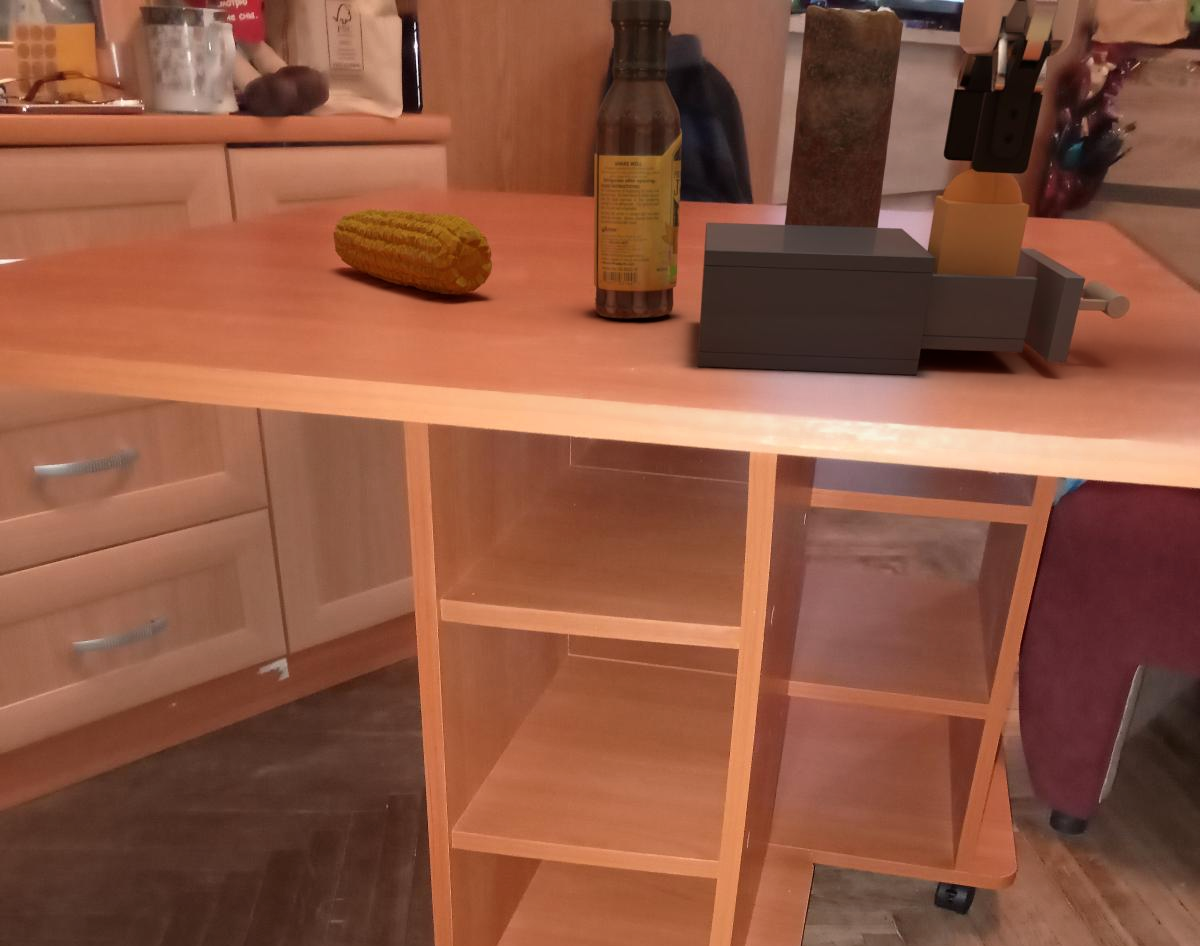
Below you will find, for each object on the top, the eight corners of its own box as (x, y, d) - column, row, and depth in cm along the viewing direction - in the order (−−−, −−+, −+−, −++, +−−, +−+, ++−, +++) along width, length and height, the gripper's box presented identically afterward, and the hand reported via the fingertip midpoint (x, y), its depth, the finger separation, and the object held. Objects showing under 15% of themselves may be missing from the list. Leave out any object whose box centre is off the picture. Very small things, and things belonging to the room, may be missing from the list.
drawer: (1078, 325, 83) (1096, 250, 80) (1135, 365, 72) (1157, 280, 69) (843, 317, 84) (852, 242, 81) (863, 355, 73) (874, 270, 70)
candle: (793, 292, 98) (822, 8, 87) (878, 300, 95) (919, 8, 84) (764, 306, 92) (791, 3, 81) (853, 315, 90) (893, 3, 79)
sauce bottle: (687, 320, 86) (705, -3, 76) (609, 324, 84) (617, -6, 74) (654, 305, 91) (667, 1, 81) (580, 309, 89) (583, -2, 79)
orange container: (991, 315, 79) (1019, 166, 74) (1005, 328, 75) (1036, 171, 70) (917, 313, 79) (940, 164, 74) (928, 325, 75) (953, 169, 70)
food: (504, 298, 93) (502, 216, 89) (446, 306, 90) (442, 221, 86) (366, 265, 106) (360, 192, 103) (311, 270, 103) (303, 195, 99)
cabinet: (887, 331, 84) (902, 228, 81) (916, 375, 72) (935, 257, 69) (699, 324, 85) (706, 222, 82) (697, 366, 73) (705, 249, 70)
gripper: (1171, -220, 55) (1079, 180, 65) (1076, -162, 70) (1012, 159, 79) (1014, -225, 56) (944, 174, 65) (952, -165, 70) (902, 154, 80)
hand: (981, 166), depth 72 cm, fingers open, 9 cm apart
